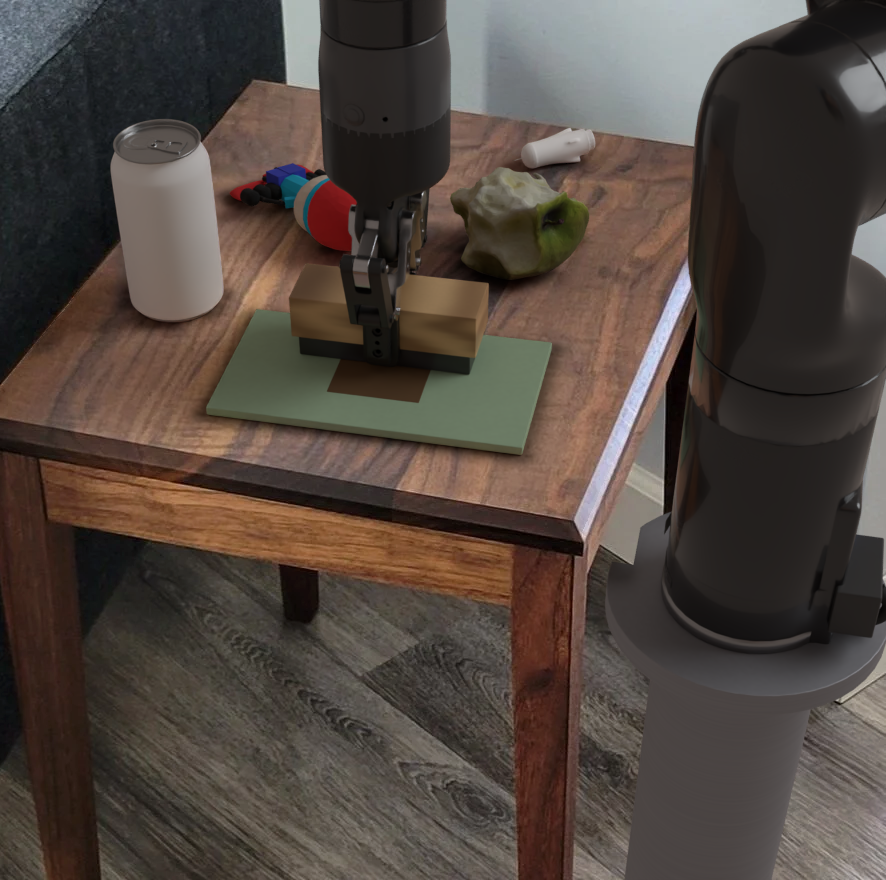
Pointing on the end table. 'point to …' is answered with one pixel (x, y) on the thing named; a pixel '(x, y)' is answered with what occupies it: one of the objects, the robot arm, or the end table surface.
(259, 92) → the end table surface
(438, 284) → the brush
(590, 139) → the small white plastic part
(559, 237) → the fruit
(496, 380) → the mat
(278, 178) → the toy figure
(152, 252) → the can
